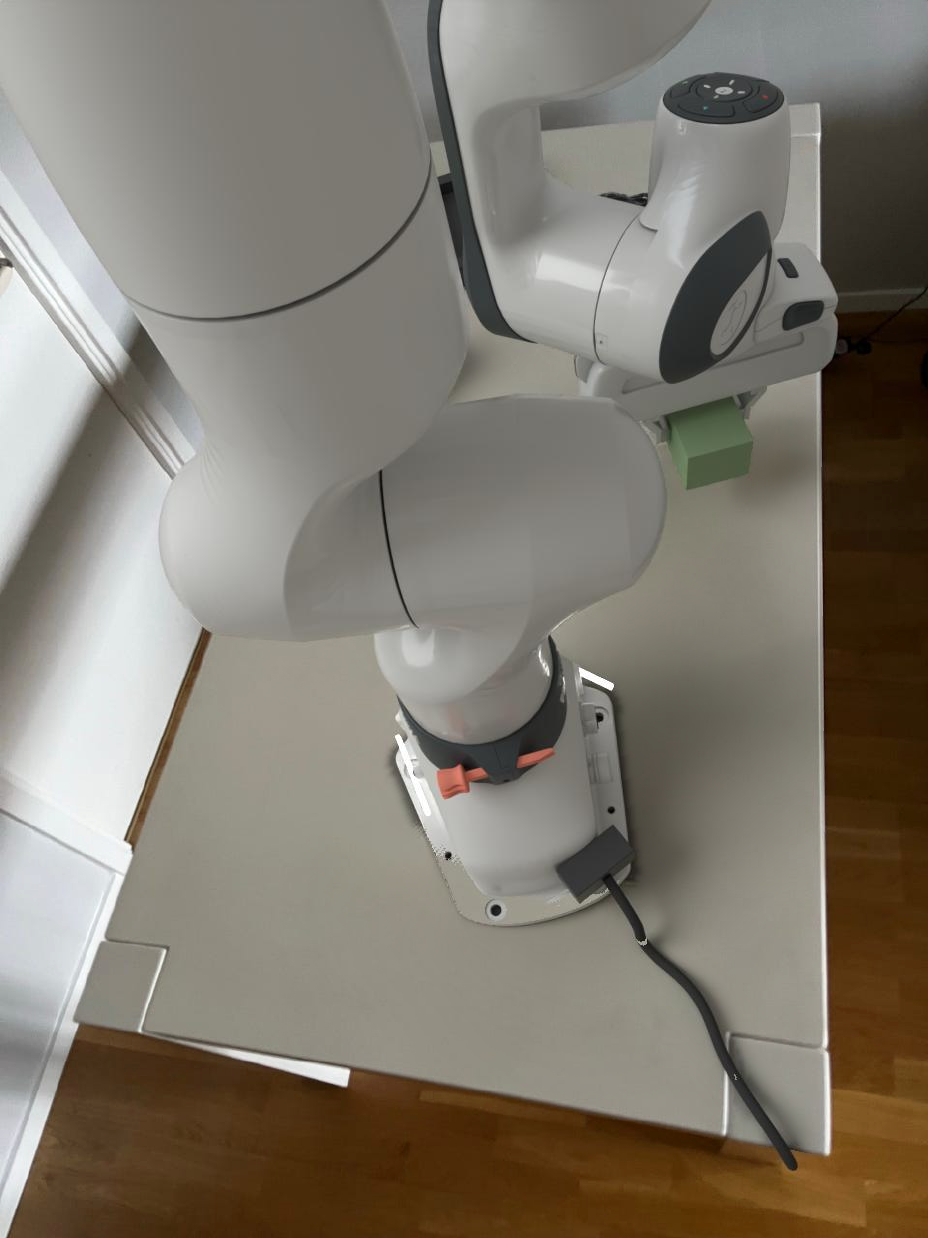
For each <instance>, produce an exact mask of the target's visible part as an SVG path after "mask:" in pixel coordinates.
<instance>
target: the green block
mask: <svg viewBox="0 0 928 1238" xmlns="http://www.w3.org/2000/svg"><path fill="white" fill-rule="evenodd" d="M666 416H667V419H668V422H669V424H670V426H671V428H672V435H671V440H669V441H666V442H665V443H666V445H667V448H668V451H669V454H670V455H671V457H672V460H673V463H674V465H675V468H676V470H677V472H678V473H677V474H678V475H679V477H680V480H681V482H682V484H683V487H684V489H685V491H686V492H688V491H691V490H695V489H699V488H702V487H707V486H709V485H713V484H718V483H721V482H724V481H729V480H732V479H736V478H740V477H743V476H747V475H749V474H750V473H749V472H750V466H751V460H752V455H753V454H752V453H753V447H754V438H753V436H752V434H751V432H750V429H749V428H748V426H747V424H746V420H744V419H743V417H742V415H741V413H740V411H739V409H738V407H737V405H736V403H735V400H734V398H733V396H730V397H727V398H723V399H719V400H716V401H712V402H708V403H705V404H701V405H698V406H694V407H690V408H687V409H683V410H680V411H676V412H673V413H669V414H666Z"/></svg>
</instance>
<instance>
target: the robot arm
mask: <svg viewBox="0 0 928 1238" xmlns="http://www.w3.org/2000/svg"><path fill="white" fill-rule="evenodd" d="M712 1H713V0H429V1H428V8H427V19H426V40H427V55H428V64H429V70H430V78H431V84H432V85H431V86H432V90H433V97H434V100H435V107H436V112H437V117H438V122H439V127H440V131H441V132H440V133H441V136H442V141H443V145H444V151H445V154H446V159H447V164H448V167H449V169H448V170H449V173H450V174H451V179H452V183H453V188H454V193H455V197H456V202H457V207H458V212H459V216H460V221H461V226H462V232H463V276H464V283H465V286H463V283H462V279H461V275H460V271H459V266H458V262H457V258H456V254H455V249H454V245H453V241H452V237H451V233H450V228H449V224H448V220H447V216H446V212H445V207H444V203H443V199H442V195H441V191H440V186H439V182H438V178H437V177H438V175H437V174H438V173H437V169H436V166H435V162H434V157H433V153H432V149H431V145H430V141H429V136H428V134H427V129H426V127H425V122H424V119H423V116H422V111H421V108H420V104H419V100H418V96H417V92H416V87H415V85H414V82H413V79H412V78H413V77H412V75H411V72H410V69H409V66H408V62H407V59H406V56H405V53H404V49H403V46H402V44H401V40H400V37H399V33H398V31H397V27H396V24H395V20H394V18H393V15H392V13H391V10H390V6H389V4H388V2H387V0H0V89H1V91H2V92H3V94H4V97H5V99H6V101H7V102H8V104H9V107H10V108H11V110H12V112H13V115H14V117H15V119H16V121H17V122H18V124H19V126H20V128H21V130H22V132H23V134H24V135H25V138H26V139H27V141H28V143H29V145H30V147H31V149H32V150H33V153H34V154H35V157H36V158H37V160H38V162H39V163H40V166H41V167H42V169H43V172H44V173H45V175H46V176H47V178H48V180H49V182H50V184H51V185H52V187H53V188H54V190H55V193H56V194H57V195H58V197H59V199H60V200H61V202H62V204H63V205H64V207H65V209H66V211H67V212H68V215H69V216H70V217H71V219H72V221H73V223H74V224H75V226H76V228H77V229H78V230H79V232H80V234H81V235H82V236H83V238H84V240H85V242H86V243H87V244H88V246H89V247H90V249H91V251H92V252H93V254H94V256H95V257H96V258H97V260H98V261H99V263H100V264H101V266H102V267H103V269H104V270H105V272H106V274H107V275H108V277H109V279H111V281H112V282H113V284H114V285H115V287H116V288H117V290H118V291H119V292H120V294H121V296H122V297H123V298H124V300H125V302H126V303H127V305H128V306H129V307H130V309H131V311H132V312H133V313H134V315H135V316H136V318H137V319H138V321H139V322H140V323H141V325H142V327H143V329H144V330H145V331H146V333H147V335H148V337H150V339H151V341H152V342H153V343H154V345H155V347H156V349H157V350H158V351H159V353H160V354H161V356H162V358H163V359H164V361H165V363H166V365H167V366H168V367H169V369H170V371H171V373H172V374H173V376H174V377H175V379H176V381H177V383H178V384H179V386H180V388H181V389H182V391H183V393H184V394H185V396H186V399H187V400H188V401H189V403H190V404H191V407H192V408H193V410H194V412H195V413H196V416H197V418H198V420H199V423H200V426H201V429H202V443H201V444H200V447H199V449H198V450H197V451H196V452H195V454H194V455H192V457H191V458H190V459H189V460H187V461H186V462H185V463H184V464H183V465H182V466H181V467H180V468H179V469H178V471H177V472H176V474H175V476H174V477H173V479H172V480H171V482H170V485H169V487H168V489H167V491H166V494H165V495H164V499H163V502H162V505H161V510H160V514H159V520H158V531H157V533H158V537H157V539H158V551H159V556H160V562H161V565H162V568H163V572H164V575H165V578H166V581H167V583H168V585H169V587H170V589H171V591H172V593H173V594H174V596H175V597H176V599H177V600H178V602H179V604H180V605H181V606H182V608H183V610H185V611H186V612H187V613H188V615H190V617H191V618H192V619H193V620H194V621H195V622H197V624H199V625H200V626H201V627H202V628H203V629H205V630H206V631H208V632H209V633H211V634H213V635H216V636H220V637H231V638H242V639H249V640H261V641H273V642H274V641H276V642H291V643H293V642H294V643H307V642H315V641H324V640H333V639H341V638H350V637H357V636H367V635H372V637H373V649H374V654H375V659H376V661H377V665H378V667H379V670H380V671H381V674H382V675H383V677H384V678H385V680H386V681H387V683H388V684H389V685H390V687H391V688H392V690H393V691H394V692H395V694H396V698H397V701H398V705H399V709H398V712H397V714H396V715H395V716H394V717H395V721H396V723H397V724H399V726H400V727H401V728H402V729H403V730H404V732H405V733H406V737H407V738H406V740H405V741H404V742H403V739H402V737H401V736H400V734H397V735H395V739H396V741H397V744H398V746H399V748H398V750H397V751H396V755H395V763H396V766H397V768H398V771H399V773H400V776H401V779H402V780H403V783H404V785H405V788H406V791H407V793H408V795H409V798H410V799H411V802H412V804H413V805H414V809H415V811H416V813H417V816H418V818H419V821H420V823H421V825H422V827H423V830H424V833H425V835H426V834H427V835H426V838H427V839H428V838H429V840H428V842H429V841H431V844H433V845H432V847H431V849H432V848H433V849H434V847H436V848H435V849H434V851H433V849H432V851H433V853H434V852H436V850H438V849H439V850H438V852H437V853H436V856H437V855H439V853H441V852H442V853H441V855H440V856H443V855H444V854H443V853H445V856H444V857H445V858H446V859H448V860H449V859H450V858H452V857H455V855H457V856H456V857H455V858H454V859H453V860H452V862H454V860H457V859H456V858H460V859H459V860H458V861H461V862H462V864H461V865H463V866H464V868H465V870H466V871H467V873H468V875H469V876H470V877H471V879H472V880H473V881H474V883H475V885H476V886H477V888H478V889H479V890H480V891H481V892H482V893H484V894H485V895H489V896H492V897H495V896H496V897H502V898H504V897H510V898H512V897H515V896H520V897H528V898H531V897H534V896H533V895H535V896H538V895H541V897H540V898H539V899H538V900H542V899H546V898H549V897H552V896H555V895H558V896H556V897H554V898H552V899H550V900H549V901H547V902H546V903H549V902H552V903H553V901H555V902H557V901H556V900H559V899H561V898H562V897H565V896H567V895H566V894H568V893H571V894H572V896H573V897H574V898H575V899H576V901H577V902H578V903H579V904H581V903H582V902H583V901H584V900H585V899H587V898H588V897H589V896H590V895H592V894H595V895H596V894H600V893H602V894H603V892H604V893H605V890H606V889H607V888H608V890H609V891H607V892H606V893H605V894H603V895H602V896H600V897H599V898H597V899H595V900H593V901H591V902H590V903H587V904H585V905H583V906H581V907H579V908H576V909H573V910H571V911H568V912H565V913H562V914H559V915H555V916H552V917H548V918H544V919H540V920H535V921H529V922H523V923H513V924H496V923H488V924H487V925H486V926H491V927H520V926H521V927H522V926H528V925H533V924H538V923H543V922H547V921H551V920H555V919H558V918H561V917H564V916H569V915H571V914H574V913H576V912H579V911H581V910H583V909H586V908H588V907H590V906H592V905H594V904H596V903H598V902H600V901H601V900H603V899H604V898H605V897H607V896H609V895H610V894H611V896H612V897H613V899H614V900H615V902H616V903H617V906H618V907H619V908H620V910H621V911H622V913H623V915H624V916H625V918H626V919H627V921H628V922H629V924H630V926H631V928H632V929H633V930H632V931H633V933H634V937H635V940H636V939H637V940H638V941H640V942H642V941H645V939H646V937H647V935H646V931H645V927H644V924H643V922H642V920H641V919H640V917H639V914H638V913H637V911H636V910H635V908H634V907H633V906H632V904H631V902H630V901H629V899H628V897H627V896H626V895H625V893H624V891H623V890H622V889H621V887H620V885H621V884H622V883H623V882H624V881H625V880H626V878H627V877H628V876H629V874H630V873H631V869H632V863H633V861H635V860H636V852H635V848H634V847H633V846H632V845H631V843H630V842H629V833H628V825H627V815H626V808H625V799H624V792H623V791H624V790H623V784H622V774H621V765H620V757H619V748H618V740H617V732H616V722H615V714H614V705H613V703H612V701H611V697H610V696H609V695H608V694H607V693H605V692H604V691H602V690H600V689H597V688H594V687H592V686H587V685H583V679H582V678H585V679H587V680H589V681H592V682H594V683H595V684H597V685H600V686H602V687H604V688H606V689H608V690H610V691H612V690H613V688H614V683H612V682H610V681H608V680H606V679H604V678H601V677H599V676H597V675H595V674H593V673H591V672H590V671H587V670H585V669H583V668H581V667H580V665H579V663H577V662H574V660H572V659H570V658H568V657H566V656H564V655H562V654H560V652H559V650H558V649H557V644H556V642H555V641H554V639H553V637H552V636H551V634H552V633H553V632H554V631H555V630H557V628H559V627H560V626H562V624H564V623H565V622H566V621H568V620H570V619H571V618H573V617H574V616H575V615H576V614H578V613H580V612H582V611H584V609H586V608H589V607H590V606H592V605H594V604H596V603H599V602H600V601H602V600H604V599H607V598H609V597H610V596H613V595H615V594H618V593H620V592H623V591H625V590H628V589H630V588H632V587H633V586H634V585H636V583H637V582H638V581H639V579H640V578H641V577H642V576H643V574H644V573H645V572H646V570H647V568H648V567H649V565H650V563H651V562H652V560H653V558H654V556H655V555H656V553H657V550H658V547H659V545H660V542H661V539H662V537H663V536H662V535H663V533H664V530H665V526H666V520H667V519H666V518H667V514H668V513H667V511H668V489H667V480H666V476H665V471H664V468H663V465H662V461H661V458H660V456H659V453H658V450H657V449H656V447H655V445H660V444H662V443H666V441H669V440H671V435H672V428H671V426H670V424H669V422H668V419H667V416H666V414H669V413H673V412H676V411H680V410H683V409H687V408H690V407H694V406H698V405H701V404H705V403H708V402H712V401H716V400H719V399H723V398H727V397H730V396H733V398H734V400H735V403H736V405H737V407H738V409H739V411H740V413H741V415H742V417H743V419H744V421H747V420H749V419H750V416H751V408H753V406H755V404H757V402H758V401H759V400H761V398H762V397H763V395H764V394H765V393H766V392H767V390H768V387H769V386H772V385H777V384H780V383H785V382H788V381H791V380H794V379H798V378H803V377H805V376H809V375H813V374H817V373H819V372H821V371H822V370H823V369H824V368H826V366H827V365H828V364H830V362H831V361H832V360H833V359H834V355H835V351H836V346H837V345H836V344H837V340H838V339H837V338H838V327H839V322H838V318H837V316H836V314H835V311H836V309H837V307H838V302H839V297H838V294H837V292H836V291H837V290H836V289H835V287H834V285H833V282H832V280H831V279H830V277H829V275H828V273H827V271H826V270H825V268H824V267H823V265H822V263H821V262H820V261H819V259H818V258H817V257H816V255H815V254H814V253H813V251H812V250H811V249H810V248H809V247H808V246H807V244H805V243H803V242H775V241H776V239H777V237H778V235H779V233H780V231H781V229H782V226H783V223H784V219H785V213H786V206H787V199H788V189H789V180H790V169H791V146H792V143H791V142H792V139H791V138H792V136H791V132H792V131H791V127H792V126H791V114H790V113H791V112H790V106H789V102H788V99H787V97H786V95H785V93H784V92H783V90H782V89H781V88H780V87H778V86H777V85H775V84H773V83H771V82H770V81H769V80H768V79H764V78H760V77H756V76H752V75H751V76H750V75H746V74H740V73H733V72H732V73H731V72H723V71H714V72H709V73H703V74H695V75H691V76H689V77H687V78H684V79H682V80H681V81H678V82H676V83H674V84H672V85H671V86H669V87H668V88H667V89H666V90H665V91H664V92H663V94H662V95H661V97H660V99H659V102H658V105H657V110H656V115H655V121H654V127H653V132H652V142H651V146H650V147H651V148H650V157H649V168H648V169H649V170H648V184H647V185H648V186H647V193H648V204H647V205H646V207H643V206H639V205H635V204H631V203H626V202H622V201H618V200H614V199H610V198H606V197H602V196H598V195H597V194H593V193H589V192H585V191H582V190H579V189H577V188H574V187H573V186H570V185H568V184H566V183H564V182H562V181H561V180H559V179H557V178H555V176H553V175H552V174H550V172H548V171H547V170H546V168H545V166H544V165H545V164H544V152H543V150H544V149H543V138H542V137H543V135H542V124H541V109H540V106H542V105H547V104H555V103H560V102H561V103H562V102H571V101H572V102H573V101H578V100H584V99H588V98H592V97H595V96H599V95H601V94H604V93H607V92H609V91H612V90H614V89H616V88H618V87H620V86H622V85H624V84H626V83H627V82H629V81H631V80H633V79H634V78H636V77H637V76H640V75H641V74H642V73H644V72H645V71H647V70H649V69H650V68H651V67H652V66H654V65H655V64H657V63H658V62H659V61H660V60H662V59H663V58H664V57H665V56H667V54H669V53H670V52H671V51H672V50H673V49H675V47H676V46H678V44H680V43H681V41H682V40H683V39H685V37H687V35H688V34H689V32H690V31H692V30H693V28H694V26H696V25H697V23H698V22H699V21H700V19H701V18H702V16H703V15H704V14H705V12H706V11H707V9H708V8H709V6H710V5H711V3H712ZM465 292H466V293H465ZM466 295H467V296H466ZM467 298H468V300H467ZM468 301H469V303H470V305H471V308H472V310H473V311H474V314H475V315H476V317H477V319H478V321H479V322H480V324H481V325H482V327H483V328H485V330H486V331H488V332H489V333H491V334H492V335H495V336H499V337H503V338H508V339H513V340H517V341H520V342H526V343H530V344H538V345H539V344H540V345H543V346H545V347H549V348H552V349H555V350H558V351H561V352H564V353H567V354H570V355H573V367H574V373H575V376H576V377H577V379H578V395H573V394H572V395H571V394H570V395H569V394H546V393H545V394H544V393H513V394H507V395H499V396H494V397H489V398H481V399H475V400H468V401H463V402H457V403H450V404H446V403H447V401H448V400H449V397H450V396H451V394H452V391H453V389H454V387H455V386H456V384H457V381H458V379H459V376H460V374H461V372H462V369H463V366H464V363H465V361H466V357H467V351H468V347H469V342H470V328H471V325H470V324H471V321H470V320H471V318H470V308H469V304H468ZM640 422H642V423H643V426H644V427H646V428H647V429H648V430H649V433H650V436H651V437H650V436H649V434H648V433H647V431H646V430H645V428H644V427H643V426H642V424H641V423H640ZM651 438H652V439H651ZM598 716H600V717H602V718H603V719H602V721H600V722H599V720H598V719H597V717H598ZM610 810H613V811H614V812H612V813H610V812H609V811H610ZM425 829H426V830H425ZM425 831H426V832H425ZM431 844H430V845H431ZM442 845H443V846H442ZM440 847H441V848H440ZM443 848H446V849H445V850H444V849H443ZM442 850H444V851H442ZM445 851H449V852H445ZM449 855H451V856H450V858H448V856H449ZM436 856H435V859H436V860H437V858H436ZM440 856H439V857H440ZM443 859H444V858H443ZM441 861H442V860H441ZM458 861H457V863H459V862H458ZM438 865H439V864H438ZM455 865H456V864H455ZM461 865H460V866H461ZM439 867H440V865H439ZM463 870H464V869H463ZM441 874H443V872H442V871H441ZM443 877H444V876H443ZM444 879H445V877H444ZM617 880H618V881H619V880H620V881H619V882H618V881H617ZM617 882H618V883H617ZM446 885H447V886H448V884H447V883H446ZM566 889H568V890H569V891H567V890H566ZM564 890H566V891H567V892H565V893H563V894H560V892H561V893H562V891H563V892H564ZM449 892H450V893H451V891H450V890H449ZM554 894H555V895H554ZM559 894H560V895H559ZM551 895H552V896H551ZM564 895H565V896H564ZM568 895H569V894H568ZM530 896H531V897H530ZM548 896H549V897H548ZM561 896H562V897H561ZM451 897H452V899H453V900H454V898H453V896H452V895H451ZM544 897H545V898H544ZM560 897H561V898H560ZM516 898H517V897H516ZM541 898H542V899H541ZM538 900H537V901H538ZM546 900H547V899H546ZM559 901H560V900H559ZM546 903H545V904H546ZM549 904H550V903H549ZM546 905H547V904H546ZM455 906H456V908H457V910H458V911H459V909H458V907H457V905H456V904H455ZM558 906H560V905H558ZM495 907H500V908H501V909H500V910H501V911H500V913H499V914H498V915H494V914H493V909H494V908H495ZM556 907H557V906H556ZM506 911H507V908H506V905H505V903H504V902H503V901H502V900H500V899H492V900H490V901H489V902H488V903H487V904H486V907H485V914H486V916H487V918H488V919H489V920H490V919H491V921H494V922H497V921H500V920H502V919H503V918H504V917H505V915H506ZM459 913H460V915H461V914H462V913H461V912H459ZM492 917H493V918H492ZM467 920H468V921H471V919H470V918H469V919H467ZM477 922H479V921H477V920H475V921H474V922H473V923H477ZM479 924H480V925H485V923H484V922H482V921H481V923H479ZM492 924H495V926H493V925H492ZM502 925H503V926H502ZM637 940H636V941H637ZM637 944H638V945H639V948H640V949H641V950H642V951H643V952H644V953H645V954H646V955H647V957H648V958H649V959H650V960H651V961H652V962H653V963H655V964H656V965H657V966H658V967H659V968H660V969H661V970H662V971H664V972H665V973H666V974H667V975H669V976H670V977H671V978H672V979H673V980H674V981H675V982H676V983H677V984H678V985H680V987H681V988H682V989H683V990H684V991H685V992H686V993H687V994H688V996H689V997H690V998H691V1000H692V1002H693V1003H694V1004H695V1006H696V1008H697V1010H698V1012H699V1014H700V1015H701V1018H702V1020H703V1022H704V1024H705V1027H706V1030H707V1033H708V1035H709V1038H710V1041H711V1043H712V1046H713V1048H714V1050H715V1053H716V1055H717V1057H718V1060H719V1062H720V1064H721V1066H722V1067H723V1070H724V1071H725V1073H726V1075H727V1077H728V1078H729V1080H730V1081H731V1083H732V1085H733V1087H734V1088H735V1090H736V1091H737V1093H738V1095H739V1096H740V1097H741V1099H742V1101H743V1103H744V1104H745V1105H746V1107H747V1108H748V1111H750V1113H751V1114H752V1116H753V1117H754V1119H755V1120H756V1122H757V1123H758V1124H759V1126H760V1127H761V1129H762V1130H763V1132H764V1133H765V1135H766V1136H767V1138H768V1139H769V1141H770V1142H771V1144H772V1146H773V1147H774V1148H775V1147H776V1148H775V1150H776V1152H777V1153H778V1155H779V1157H780V1158H781V1161H783V1164H784V1165H785V1167H786V1168H787V1170H790V1171H791V1172H795V1171H797V1170H798V1168H799V1165H798V1161H797V1159H796V1157H795V1156H794V1154H793V1152H792V1151H791V1148H790V1147H789V1145H788V1144H787V1142H786V1141H785V1139H784V1138H783V1136H782V1135H781V1133H780V1132H779V1130H778V1128H777V1127H776V1126H775V1125H774V1123H773V1121H772V1120H771V1119H770V1117H769V1115H768V1114H767V1112H766V1111H765V1110H764V1109H763V1107H762V1105H761V1104H760V1103H759V1101H758V1100H757V1098H756V1097H755V1095H754V1094H753V1093H752V1091H751V1089H750V1088H749V1086H748V1085H747V1083H746V1081H745V1080H744V1078H743V1077H742V1075H741V1073H740V1071H739V1069H738V1068H737V1066H736V1065H735V1063H734V1061H733V1058H732V1057H731V1055H730V1052H729V1051H728V1049H727V1046H726V1044H725V1042H724V1041H725V1040H724V1039H723V1036H722V1034H721V1031H720V1028H719V1026H718V1023H717V1021H716V1018H715V1016H714V1013H713V1011H712V1009H711V1007H710V1006H709V1005H710V1004H708V1002H707V1000H706V998H705V997H704V996H703V994H702V992H701V991H700V990H699V988H698V987H697V986H696V984H694V982H693V981H692V980H691V979H690V978H689V977H688V976H687V975H686V974H685V973H684V972H683V971H682V970H681V969H680V968H679V967H677V966H676V965H674V963H673V962H671V961H670V960H668V959H667V957H665V956H664V955H663V954H662V953H661V952H659V951H658V949H657V948H655V946H654V945H653V944H652V942H650V940H649V939H648V938H647V944H646V945H644V946H643V945H640V944H639V943H638V942H637ZM734 1074H735V1075H736V1077H737V1078H736V1079H737V1080H735V1076H734Z"/></svg>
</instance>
